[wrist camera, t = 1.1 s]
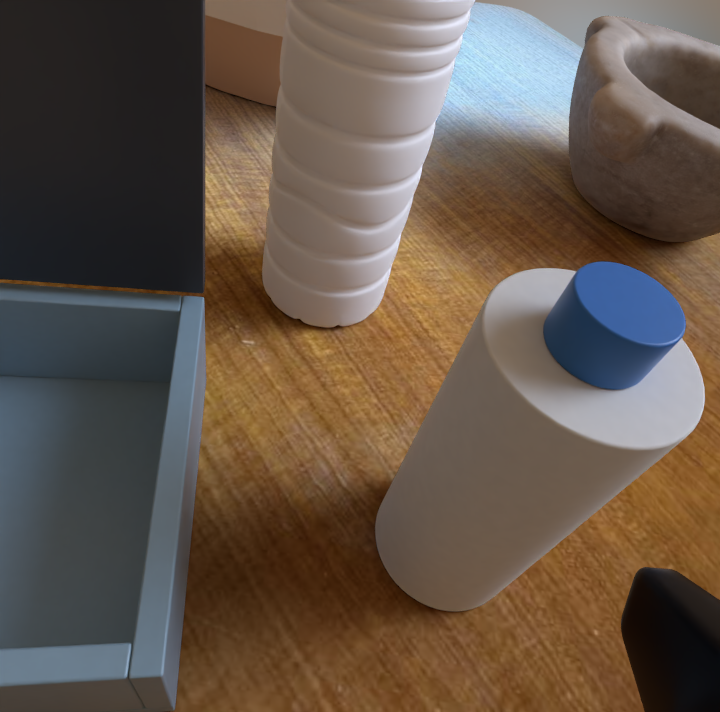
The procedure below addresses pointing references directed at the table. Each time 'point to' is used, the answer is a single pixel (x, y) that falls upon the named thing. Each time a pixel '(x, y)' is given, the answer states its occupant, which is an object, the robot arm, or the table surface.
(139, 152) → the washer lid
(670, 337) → the detergent bottle
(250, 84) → the bowl
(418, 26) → the water bottle
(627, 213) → the mortar
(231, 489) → the table surface
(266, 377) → the table surface
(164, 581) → the light blue box
